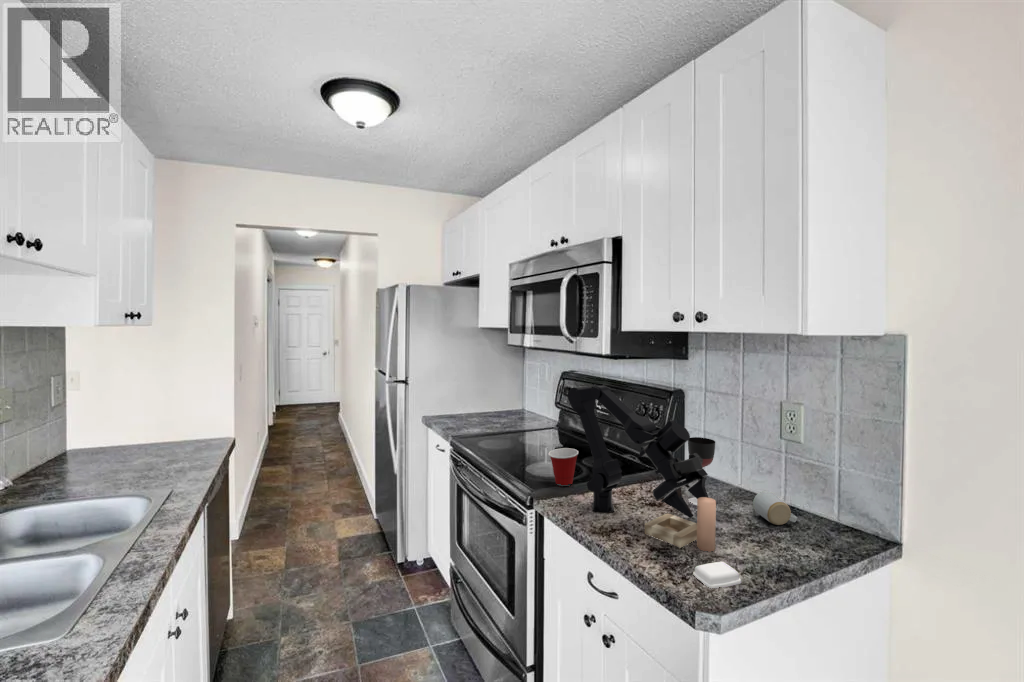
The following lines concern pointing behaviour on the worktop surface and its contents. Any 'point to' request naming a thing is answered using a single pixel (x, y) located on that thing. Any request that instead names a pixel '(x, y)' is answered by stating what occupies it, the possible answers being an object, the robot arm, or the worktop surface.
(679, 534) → the socket block
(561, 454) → the plastic cup
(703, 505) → the dowel
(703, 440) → the wineglass
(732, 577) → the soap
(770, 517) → the ceramic mug
